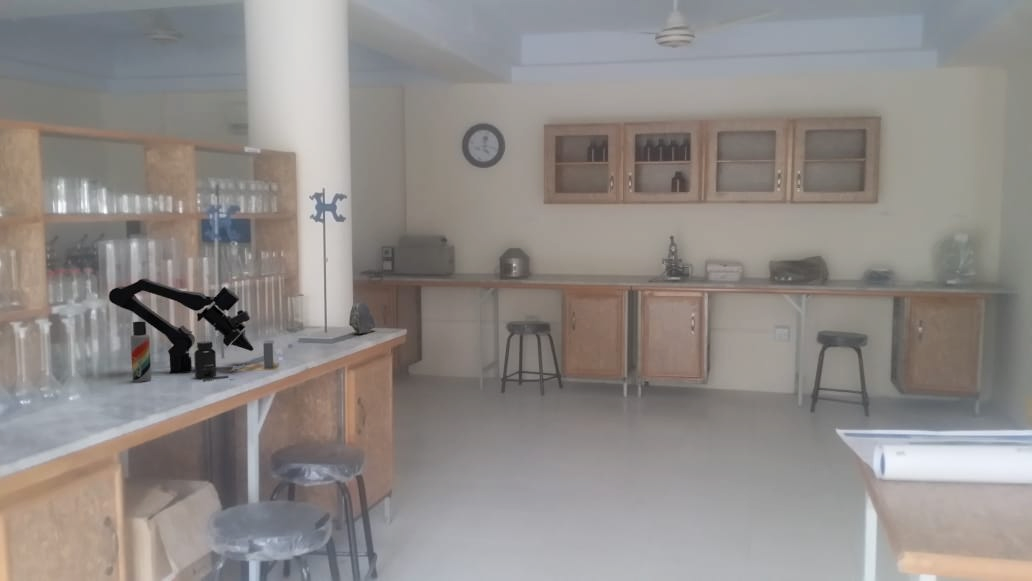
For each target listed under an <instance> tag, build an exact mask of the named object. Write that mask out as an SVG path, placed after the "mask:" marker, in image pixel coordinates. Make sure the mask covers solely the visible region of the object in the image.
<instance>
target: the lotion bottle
mask: <svg viewBox="0 0 1032 581" xmlns="http://www.w3.org/2000/svg"><path fill="white" fill-rule="evenodd" d="M146 323H147V322H146V321H132V334H133V335H130V354H131V373H132V374H131V375H132V377H131V378H132V381H133V382H134V383H143V382H149V381H151V380H152V368H151V367H152V365H151V364H152V363H151V346H150V344H151V343H150V335H149V334H147V328H146V327H147V326H146V325H147V324H146Z"/></svg>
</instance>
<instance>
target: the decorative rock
mask: <svg viewBox="0 0 1032 581" xmlns="http://www.w3.org/2000/svg"><path fill="white" fill-rule="evenodd" d="M348 325H349V326H350V327H351V328H353V330H354V331H355V333H356V334H367V333H371V331H372V330H373V329H375V328H376V324H375V322H374V317H373V315H372V313H371V309H370V308H369V306H368V305H367V304H366V302H365V301H363V300H358V301H356V302H354V303H353V304H352V305H351V310H350V312H349V320H348Z"/></svg>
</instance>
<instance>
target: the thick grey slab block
mask: <svg viewBox="0 0 1032 581" xmlns="http://www.w3.org/2000/svg"><path fill="white" fill-rule="evenodd" d="M262 344H263V364H264V369H267V368H273V367H274V365H275V363H276V360H275V359H276V358H275V355H276V354H275V340H274V339H270V340H269V339H267V340H264V342H263V343H262Z"/></svg>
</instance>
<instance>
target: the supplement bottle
mask: <svg viewBox="0 0 1032 581" xmlns="http://www.w3.org/2000/svg"><path fill="white" fill-rule="evenodd" d="M213 347H214V346H213V341H207V340H206V341H198V342H196V348H197V350H195V352H194V355H193V357H194V377H195V378H196V379H200V380H201V379H202V378H207V377H217V353H216V350H214V349H213ZM202 380H203V379H202Z"/></svg>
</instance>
